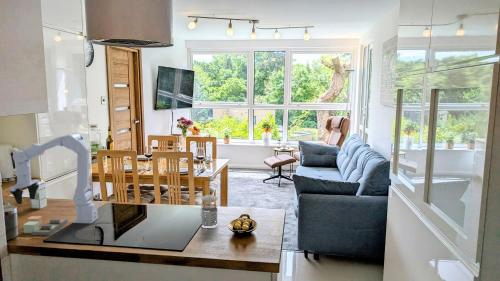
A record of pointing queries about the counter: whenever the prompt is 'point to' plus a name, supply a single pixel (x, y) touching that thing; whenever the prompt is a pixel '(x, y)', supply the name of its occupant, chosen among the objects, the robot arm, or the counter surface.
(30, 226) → the sage plug
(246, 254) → the counter surface
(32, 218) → the terracotta plug
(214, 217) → the french press
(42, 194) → the syrup box
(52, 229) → the cable comb
